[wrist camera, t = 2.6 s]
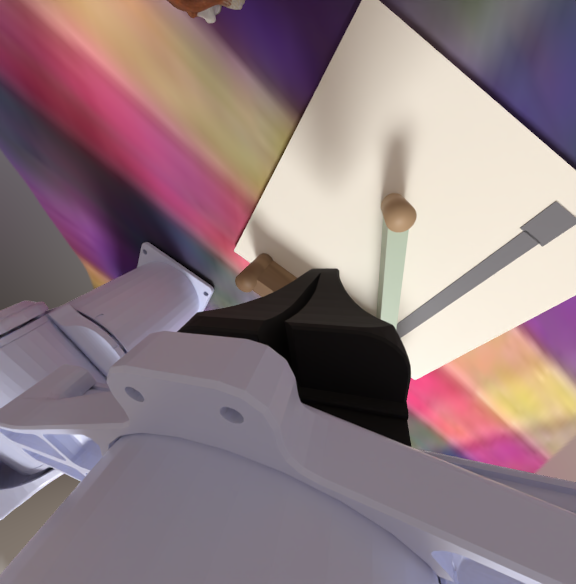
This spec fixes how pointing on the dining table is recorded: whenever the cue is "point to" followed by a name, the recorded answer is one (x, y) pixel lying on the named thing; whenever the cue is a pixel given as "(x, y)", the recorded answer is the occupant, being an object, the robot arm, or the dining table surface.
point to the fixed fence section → (263, 276)
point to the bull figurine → (206, 7)
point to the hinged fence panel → (393, 254)
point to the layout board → (421, 194)
